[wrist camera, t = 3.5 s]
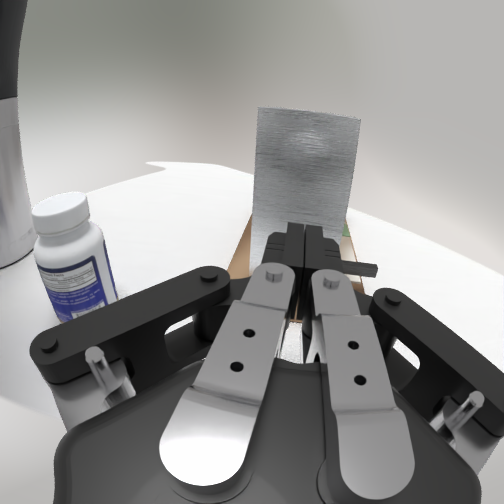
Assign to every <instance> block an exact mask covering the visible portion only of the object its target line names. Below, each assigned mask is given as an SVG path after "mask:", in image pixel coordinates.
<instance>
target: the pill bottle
mask: <svg viewBox="0 0 504 504" xmlns="http://www.w3.org/2000/svg"><path fill="white" fill-rule="evenodd" d="M31 215H32V219H33V224H34V228H35V230H36V233H37V234H38V235H40V236H39V237H38V238H37V240H36V242H35V245H34V250H33V251H34V257H35V261H36V264H37V267H38V269H39V272H40V275H41V278H42V280H43V283H44V286H45V288H46V291H47V293H48V296H49V298H50V301H51V303H52V306H53V308H54V310H55V312H56V315H57V317H58V319H59V321H60V323H61V324H62V323H65V322H67V321H70V320H72V319H74V318H77V317H79V316H82V315H84V314H86V313H89V312H91V311H94V310H96V309H99V308H101V307H103V306H106V305H108V304H111V303H113V302H116V301H118V300H119V299H118V295H117V291H116V287H115V283H114V279H113V275H112V271H111V267H110V263H109V258H108V254H107V249H106V245H105V240H104V236H103V232H102V230H101V228H100V227H99V226H98V225H97V224H96V223H94V222H92V221H90V220H88V219H89V218H90V213H89V206H88V201H87V196H86V195H85V194H84V193H82V192H67V193H62V194H58V195H54V196H51V197H49V198H46V199H44V200H42V201H41V202H39V203H37V204H36V205H35V206H34V207H33V208H32V210H31Z"/></svg>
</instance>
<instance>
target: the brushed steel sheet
mask: <svg viewBox="0 0 504 504" xmlns="http://www.w3.org/2000/svg"><path fill="white" fill-rule="evenodd" d="M360 122H361V119H358V118H356V117H351V116H345V115H339V114H332V113H326V112H317V111H310V110H301V109H292V108H282V107H269V106H260V107H258V119H257V137H256V156H255V173H254V191H253V210H252V228H251V247H250V265H249V277H250V276H252V274H253V272H254V270H255V268H256V267H257V266H259V265H261V261H262V258H263V254H264V250H265V246H266V243H267V239H268V236H269V235H271V234H272V233H273V232H283V233H286V232H287V225H288V222H292V223H300V224H304V232H305V225H306V224H308V225H316V226H322V227H323V237H324V238H332V239H334V240H335V241H336V242H337V244H338V245H339V247H340V243H341V238H342V233H343V228H344V223H345V218H346V213H347V207H348V201H349V196H350V190H351V184H352V179H353V172H354V166H355V159H356V153H357V145H358V138H359V130H360ZM342 265H343V271H344V274H349V275H357V276H365V277H373V278H375V277H376V274H377V271H378V267H377V265H376V264H369V263H361V262H353V261H346V260H342Z"/></svg>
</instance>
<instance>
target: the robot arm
mask: <svg viewBox="0 0 504 504" xmlns="http://www.w3.org/2000/svg"><path fill="white" fill-rule="evenodd" d="M27 1H28V0H0V268H1V267H4V266H7V265H9V264H11V263H13V262H15V261H17V260H19V259H20V258H22V257H23V256H25V255H26V254H27V253H29V252H30V251H31V250H32V249H33V248H34V245H35V242H36V240H37V238H38V234H37V233H36V230H35V228H34V224H33V219H32V215H31V210H32V209H31V204H30V200H29V195H28V190H27V184H26V178H25V173H24V166H23V159H22V151H21V142H20V132H19V123H18V122H19V120H18V100H17V78H18V57H19V47H20V40H21V34H22V28H23V22H24V18H25V13H26V7H27ZM296 307H297V313H296V320H302V327H301V332H300V364H296V363H292V362H289V361H286V360H283V359H280V356H281V352H282V348H283V343H284V339H285V335H286V330H287V328H288V327H289V322H290V319H294V318H295V312H296ZM190 316H192V318H193V321H192V322H190V323H188V324H186V325H184V326H182V327H180V328H178V329H176V330H174V331H172V332H170V333H168V334H166V335H165V332H166V330H167V329H168V328H169V327H170V326H171V325H173V324H175V323H177V322H179V321H182V320H184V319H186V318H188V317H190ZM397 339H399V340H400V341H401V342H402V343H403V344H404V345H405V346H407V347H408V348H409V349H410V350H411V351H412V352H414V353H415V354H416V355H417V356H418V358H419V361H420V367H419V369H416V368H415V367H414V366H413V365H412V364H411V363H410V362H409V361H407V360H406V359H405V358H404V357H403V356H402V355H401V354H400V353H398V352H397V351H396V350H395V349H394V348H393V346H394V344H395V342H396V340H397ZM30 356H31V358H32V360H33V361H34V363H35V365H36V366H37V368H38V369H39V371H40V372H41V374H42V377H43V379H44V380H45V381H46V383H47V384H48V386H49V387H50V389H51V390H52V393H53V396H54V398H55V401H56V404H57V407H58V409H59V412H60V415H61V417H62V420H63V422H64V425H65V427H66V429H67V433H66V434H65V435H64V437H63V438H62V439H61V441H60V443H59V445H58V447H57V449H56V453H55V456H54V476H55V493H54V501H53V504H481V486H480V481H479V479H478V477H477V475H478V473H479V472H480V470H481V469H482V468H483V466H484V465H485V463H486V462H487V460H488V458H489V457H490V455H491V453H492V452H493V450H494V449H495V447H496V446H497V444H498V442H499V440H500V439H502V438H503V437H504V373H503V372H502V371H500V370H499V369H498V368H497V367H496V366H495V365H493V364H492V363H491V362H490V361H489V360H488V359H486V358H485V357H484V356H483V355H482V354H480V353H479V352H478V351H477V350H475V349H474V348H473V347H472V346H471V345H469V344H468V343H467V342H466V341H464V340H463V339H462V338H461V337H459V336H458V335H457V334H456V333H454V332H453V331H452V330H451V329H449V328H448V327H447V326H446V325H444V324H443V323H442V322H440V321H439V320H438V319H437V318H435V317H434V316H433V315H431V314H430V313H429V312H427V311H426V310H425V309H423V308H422V307H421V306H419V305H418V304H417V303H415V302H414V301H413V300H411V299H410V298H409V297H407V296H406V295H405V294H403V293H402V292H400V291H398V290H395V289H391V288H380V289H378V290H376V291H375V292H374V294H373V297H372V296H369V295H366V294H363V293H360V292H358V291H356V290H354V289H353V287H352V283H351V281H350V279H349V278H348V277H347V276H346V275H345V274H344V271H343V265H342V259H341V254H340V248H339V245H338V244H337V242H336V241H335V240H334V239H332V238H324V237H323V227H322V226H316V225H308V224H306V225H305V232H304V224H300V223H292V222H288V225H287V232H286V233H283V232H273V233H272V234H271V235H269V236H268V239H267V243H266V246H265V250H264V254H263V258H262V261H261V265H259V266H257V267H256V268H255V270H254V272H253V274H252V276H250V277H246V278H240V279H230V275H229V273H228V272H227V271H226V270H225V269H223V268H220V267H216V266H203V267H199V268H197V269H194V270H192V271H189V272H187V273H184V274H182V275H179V276H177V277H174V278H172V279H169V280H167V281H165V282H162V283H160V284H157V285H155V286H152V287H150V288H147V289H145V290H142V291H140V292H138V293H135V294H133V295H130V296H128V297H125V298H123V299H120V300H118V301H116V302H113V303H111V304H108V305H106V306H103V307H101V308H99V309H96V310H94V311H91V312H89V313H86V314H84V315H82V316H79V317H77V318H74V319H72V320H70V321H67V322H65V323H62V324H60V325H57V326H55V327H53V328H50V329H48V330H45V331H43V332H42V333H40V334H39V335H37V336H36V337H35V338H34V340H33V341H32V343H31V346H30ZM204 358H206V359H204ZM202 359H203V360H202Z"/></svg>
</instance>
